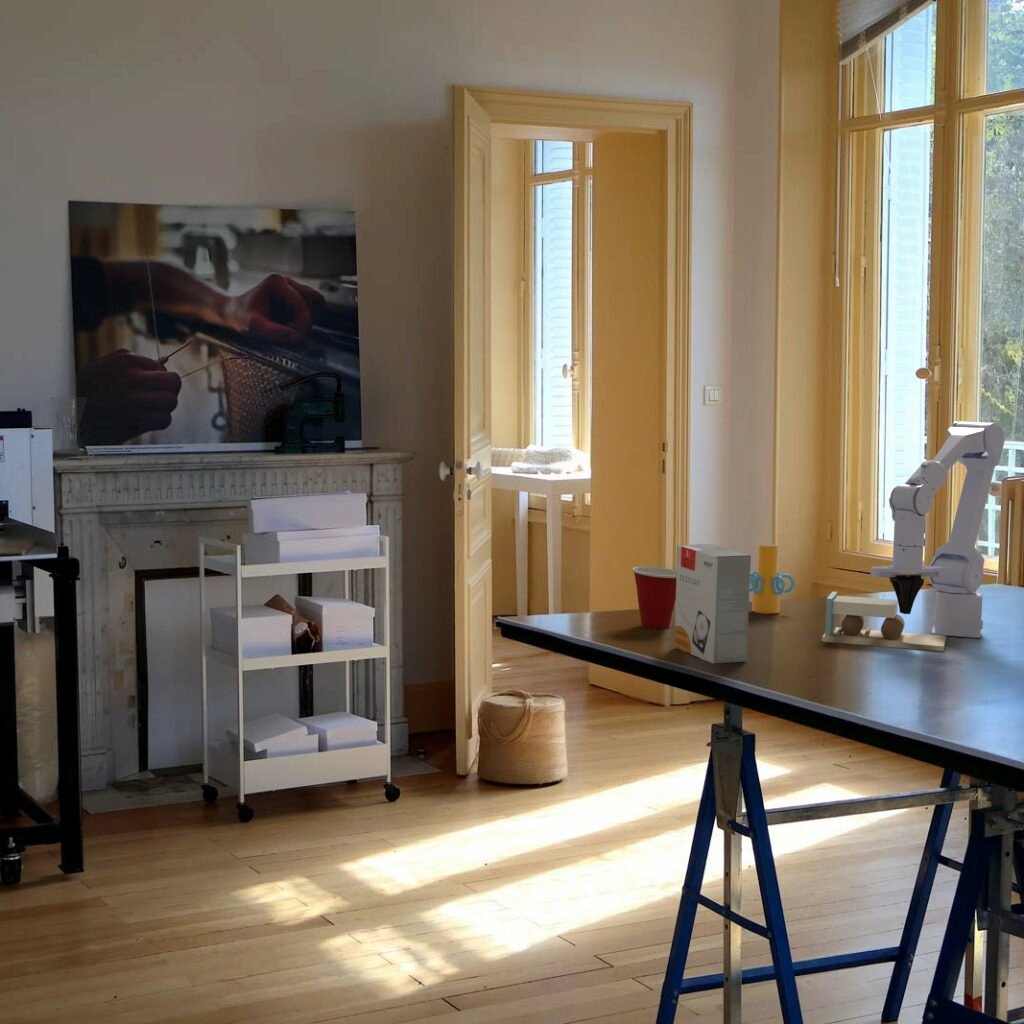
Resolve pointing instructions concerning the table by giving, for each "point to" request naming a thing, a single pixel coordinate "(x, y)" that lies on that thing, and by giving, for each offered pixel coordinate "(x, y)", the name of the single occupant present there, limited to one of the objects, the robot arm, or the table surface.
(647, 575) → the plastic cup
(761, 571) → the cylinder
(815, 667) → the table surface
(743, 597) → the hard drive box
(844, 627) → the roller
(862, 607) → the slab
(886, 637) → the roller bed
